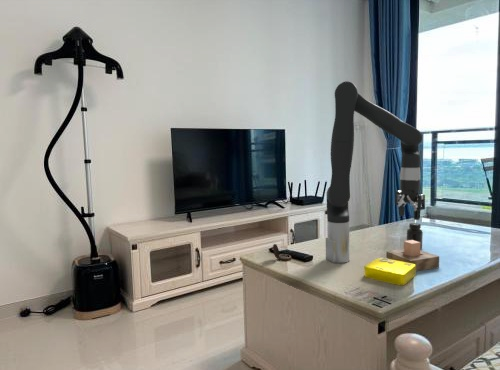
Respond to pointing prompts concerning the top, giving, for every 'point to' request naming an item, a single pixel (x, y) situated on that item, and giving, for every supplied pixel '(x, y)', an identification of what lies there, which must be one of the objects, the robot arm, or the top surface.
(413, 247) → the terracotta peg
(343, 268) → the top surface
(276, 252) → the compass
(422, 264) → the walnut base
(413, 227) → the supplement bottle
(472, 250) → the top surface
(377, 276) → the element tile
